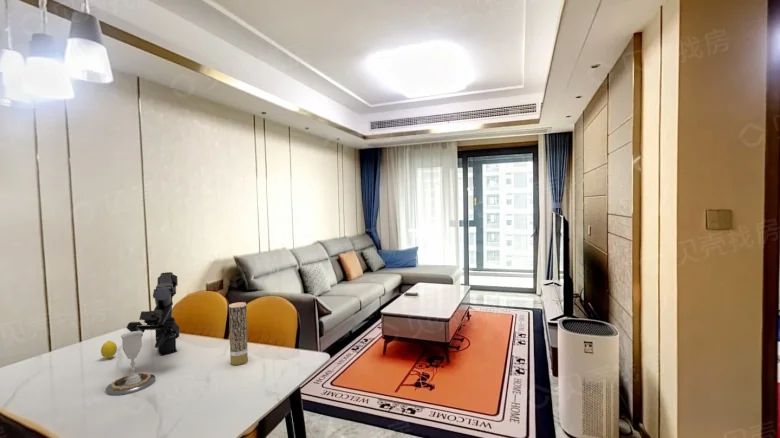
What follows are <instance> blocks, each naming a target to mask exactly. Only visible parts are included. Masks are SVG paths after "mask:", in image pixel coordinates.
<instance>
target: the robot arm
mask: <svg viewBox="0 0 780 438" xmlns="http://www.w3.org/2000/svg"><path fill="white" fill-rule="evenodd" d="M178 281H179V280H178V275H176V274H174V273H173V272H171V271H170V272H161V273H160V275H159V276H158V277H157V281H156V283H157V285H156V286H155V288H154V289H153V293H152V298H153V299H154V303H155V308H154V309H153V310H151V311H149V310H148V311H140V315H139V319H138V320H140V321H143V323H144V324H142V322H140V321H130V322H128V323H127V325H126V329H127V330H128V332H133V331H142V332H143V334H142V337H143V335H144V333H145V331H146V330H147V331H149V330H150V331H153V330H154V331H155V333H154V334H155V344H154V348H155V349H157V353H158V354H159V355H160V356H164V355H168V354H172V353H175V352H178V349H177V339H178V338H180V325H179V324H178V323H176V319H175V317H173V306H174V302H173V298H174V296H175V295H176V294H177V287H178V283H179V282H178Z"/></svg>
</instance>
